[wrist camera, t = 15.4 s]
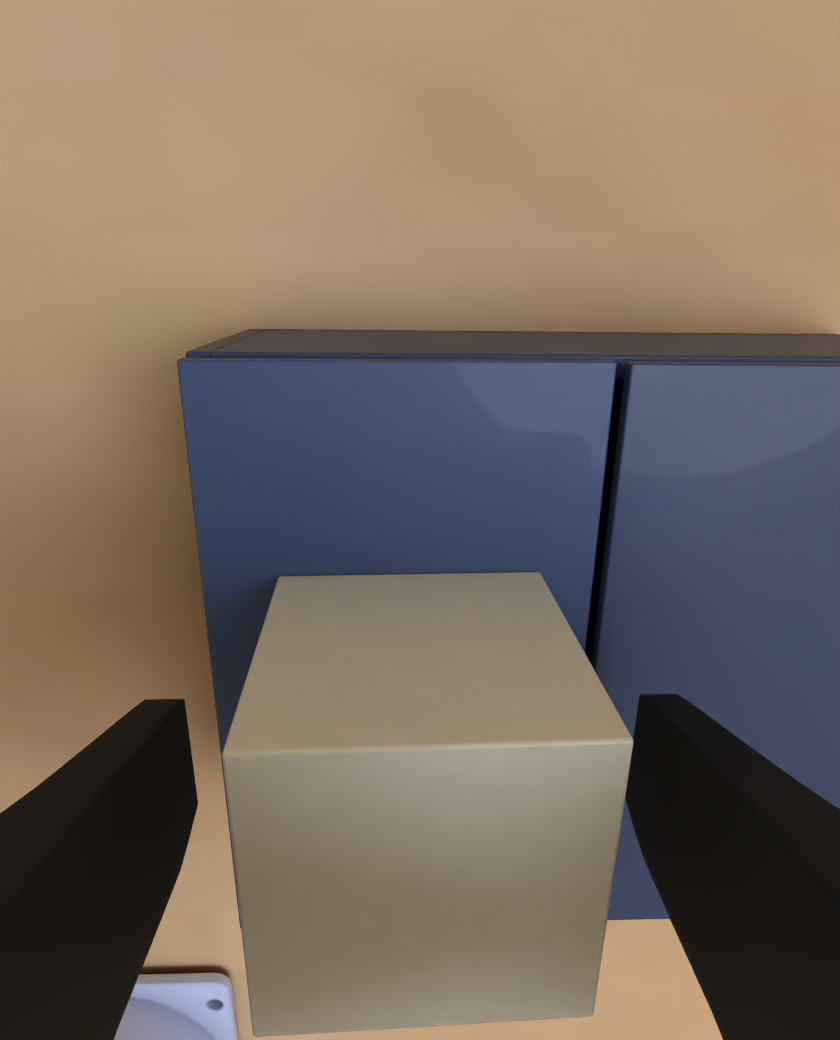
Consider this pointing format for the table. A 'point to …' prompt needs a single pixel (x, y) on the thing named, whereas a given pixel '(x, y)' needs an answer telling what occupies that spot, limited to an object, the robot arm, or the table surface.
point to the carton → (690, 530)
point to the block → (422, 805)
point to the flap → (388, 480)
